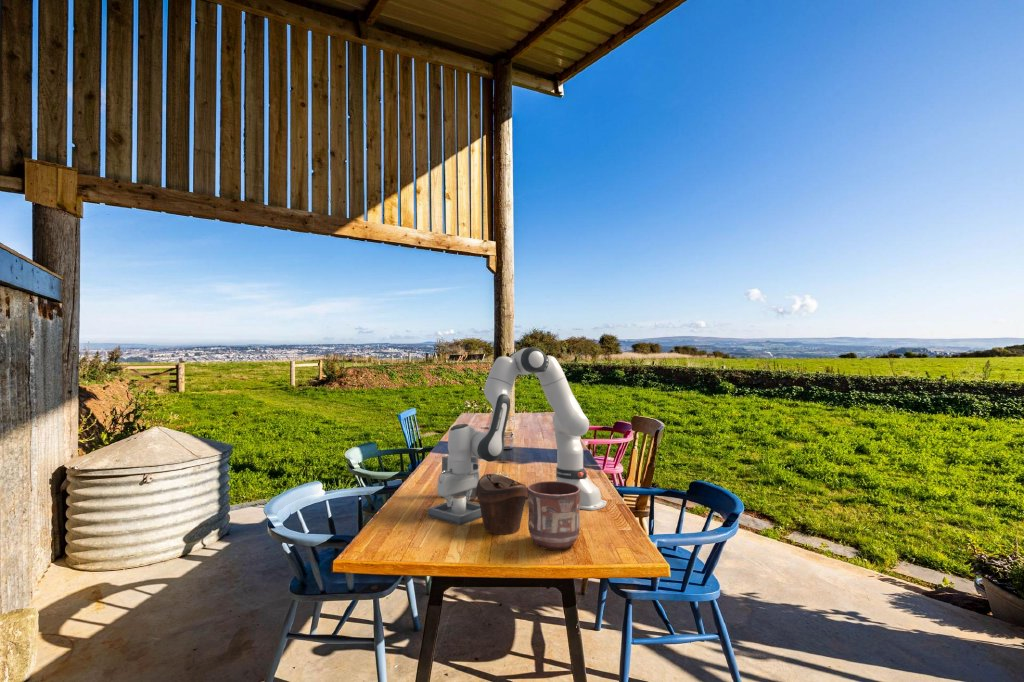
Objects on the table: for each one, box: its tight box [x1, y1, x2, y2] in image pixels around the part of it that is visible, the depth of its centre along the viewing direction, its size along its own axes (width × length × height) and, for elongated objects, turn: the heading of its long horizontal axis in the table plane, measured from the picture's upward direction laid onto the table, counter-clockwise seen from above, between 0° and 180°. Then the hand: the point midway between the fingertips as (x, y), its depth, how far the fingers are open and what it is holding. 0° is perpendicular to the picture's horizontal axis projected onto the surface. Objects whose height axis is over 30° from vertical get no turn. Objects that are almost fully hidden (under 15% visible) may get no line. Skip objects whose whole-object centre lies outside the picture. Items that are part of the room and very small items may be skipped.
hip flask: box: [440, 455, 479, 499], centre depth 210 cm, size 16×4×20 cm, turn 96°
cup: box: [450, 495, 467, 515], centre depth 183 cm, size 6×6×6 cm
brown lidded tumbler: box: [475, 473, 528, 535], centre depth 168 cm, size 18×20×18 cm
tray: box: [427, 501, 482, 526], centre depth 182 cm, size 17×16×3 cm
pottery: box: [526, 480, 581, 551], centre depth 154 cm, size 18×18×18 cm
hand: (458, 503), depth 183 cm, fingers open, 8 cm apart
